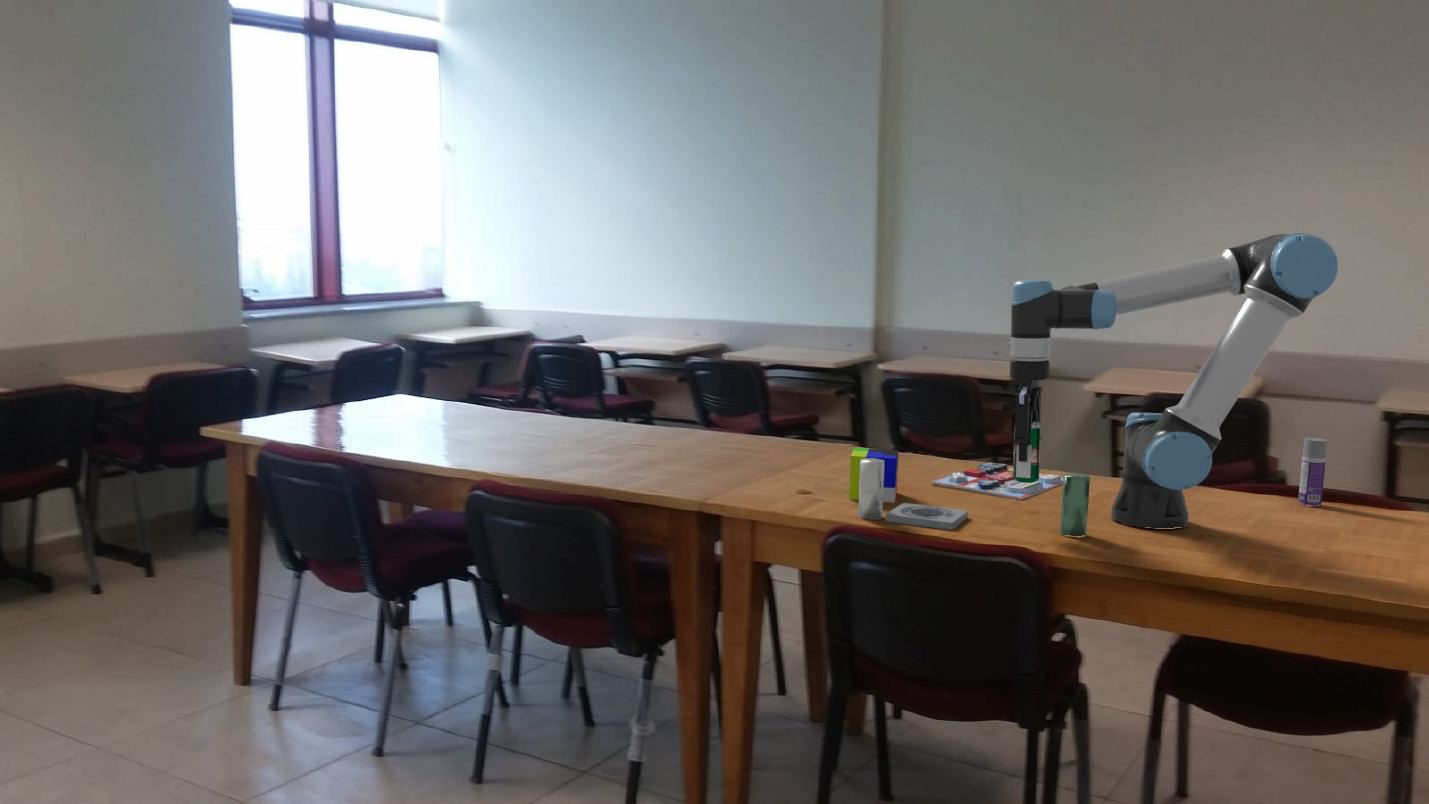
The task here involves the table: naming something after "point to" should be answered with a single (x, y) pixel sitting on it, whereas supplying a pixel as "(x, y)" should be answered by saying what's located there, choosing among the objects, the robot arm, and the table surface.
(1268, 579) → the table surface
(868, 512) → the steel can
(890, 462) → the puzzle toy
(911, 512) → the socket board
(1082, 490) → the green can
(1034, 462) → the soda can
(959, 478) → the puzzle board
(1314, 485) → the container
